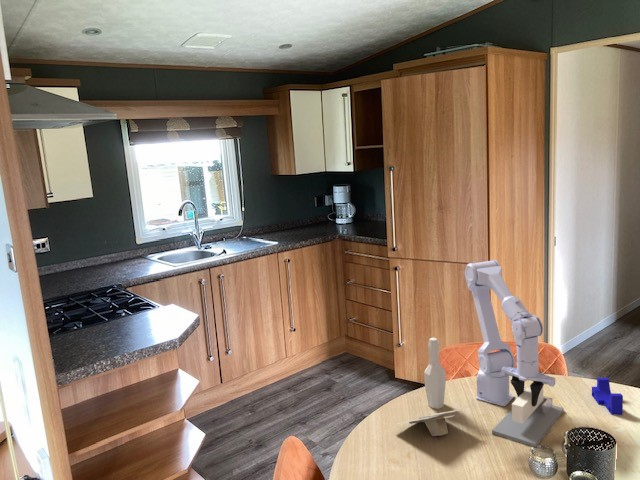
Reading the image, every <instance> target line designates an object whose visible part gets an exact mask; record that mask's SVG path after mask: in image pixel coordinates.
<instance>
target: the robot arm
mask: <svg viewBox="0 0 640 480" xmlns="http://www.w3.org/2000/svg"><path fill="white" fill-rule="evenodd" d="M464 277H465V281H466V284H467V288H468V291H471V293H472V298H473V301H474V302H473V303H474V306H475V310H476V314H477V317H478V318H477V319H478V322H479V327H480V330H481V335H482V340H483V344H482V345H481V346H480V347H479V348H478V351H477V356H478V366H479V370H478V372H477V376H476V397H475V398H476V400H479V401H484V402H487V403H491V404H493V405H498V406H501V407H506V406H507V405H508V404H509V403H510V402H511V401H512V400H513V399H514V398H515V394H511V393H510V384H511V385H512V387H513V389H514V390H515V393H516V396H517V398H518V397H519V396H520V395H521V394H522V393H523V392H524V391H525V382H527V381H531V384H530V385H529V386H530V388H531V393H532V406H534V407H535V406H536V405H537V401H538V397H539V394H540V391H541V389H542V387H543V388H544V385H548V386H549V387H551V388H553V387H555V386H556V377H553V376H550V375H548V374H545V373H542V372H540V371H539V337H541V336H542V335H543V333H544V332H543V331H544V327H543V323H542V321H541V320H540V317H538V315H534V314H533V312H532V313H531V312H529V310H528V308H527V307H526V305H524V303H523V302H522V301H521V299H520V297H518V296H513V294H512V292H511V291H510V289H509V287H508V285H507V284H506V282H505V280H504V278H503V268H502V267H501V265H500V263H499V261H497V260H496V259H492V260H487V261H480V262H472V263H471V262H470V263H467V264H466V266H465V269H464ZM490 289H491V291H493V293H494V295H496V296H497V298H498V299H499V300H500V301H501V307H500V308H501V310H502V311H503V313H504V314H505V315H506V317H507V319H508V321H509V322H510V323H511V331H512V334H513V336H514V337H513V341H514V343H515V344H516V357H515V356H514V353H513V351H512V349H511V346H510V345H509V344H508V343H506V342H504V341H502V338H501V335H500V331H499V327H498V324H497V323H498V322H497V320H496V316H495V311H494V307H493V303H492V299H491V295H490ZM498 350H499V351H498ZM515 358H516V359H515ZM515 365H516V366H515ZM510 377H511V379H510Z"/></svg>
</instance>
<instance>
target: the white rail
mask: <svg viewBox="0 0 640 480" xmlns="http://www.w3.org/2000/svg"><path fill="white" fill-rule="evenodd" d="M543 396H544V386H543V387H542V389H541V391H540V394H539V397H538V401H537V405H536V406H535V407H534V406H532V393H531V388H530V385H529V386H528V387H526V389H524V392H523V393H522V394H521V395H520V396H519V397H518V396H517V398H516V399H515V400H514V401H513V402H512V403H511V410H512V421H515V422H518V423H522V424H523V423H524V422H525V421H526V420H527V418H528V417H529V416H530V415H531V414H532V413H533V412H534V410H535V409H536V408H537V407H538V406H539V405H540V404H541V402H542V401H543Z"/></svg>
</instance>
